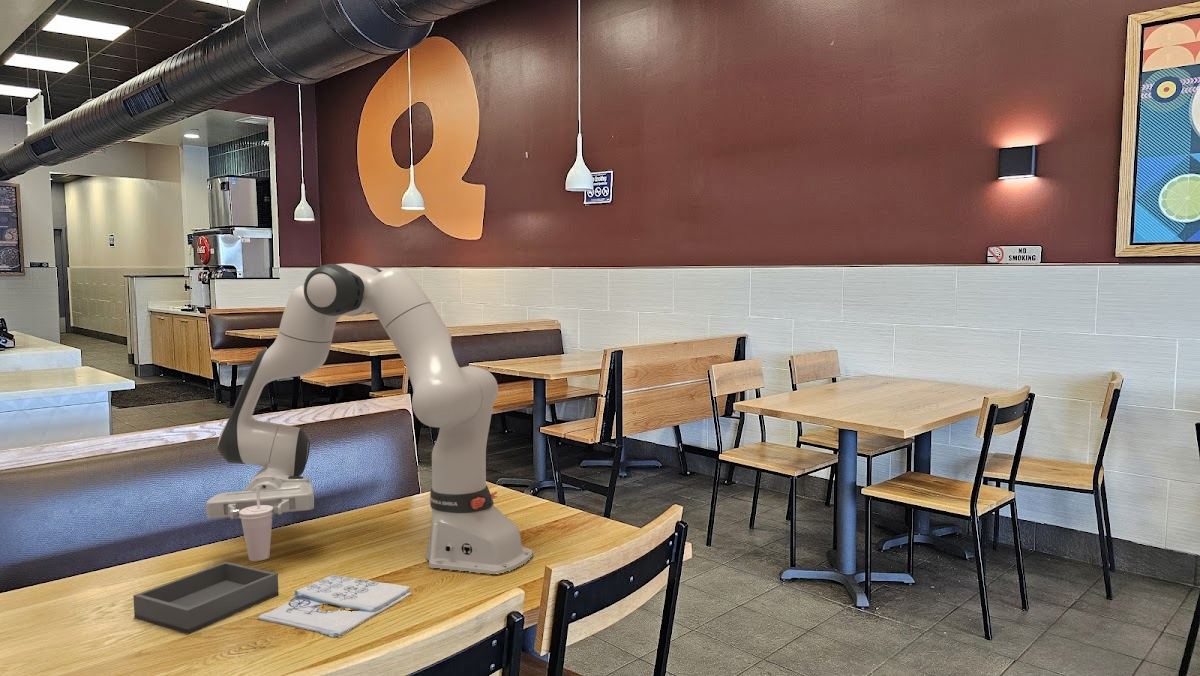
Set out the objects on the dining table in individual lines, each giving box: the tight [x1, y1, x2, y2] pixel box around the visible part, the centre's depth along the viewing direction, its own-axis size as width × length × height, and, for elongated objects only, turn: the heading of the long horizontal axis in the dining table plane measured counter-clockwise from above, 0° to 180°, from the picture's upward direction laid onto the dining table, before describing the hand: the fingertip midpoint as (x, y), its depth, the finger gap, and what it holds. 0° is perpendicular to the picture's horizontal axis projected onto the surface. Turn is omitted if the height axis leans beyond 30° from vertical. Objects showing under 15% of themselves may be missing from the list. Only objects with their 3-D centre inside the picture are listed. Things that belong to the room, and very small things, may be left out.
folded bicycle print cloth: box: [257, 574, 413, 638], centre depth 139 cm, size 19×20×2 cm
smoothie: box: [238, 488, 273, 562], centre depth 154 cm, size 6×6×14 cm
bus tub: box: [132, 561, 280, 635], centre depth 139 cm, size 14×18×4 cm
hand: (255, 513), depth 153 cm, fingers closed on smoothie, 6 cm apart
